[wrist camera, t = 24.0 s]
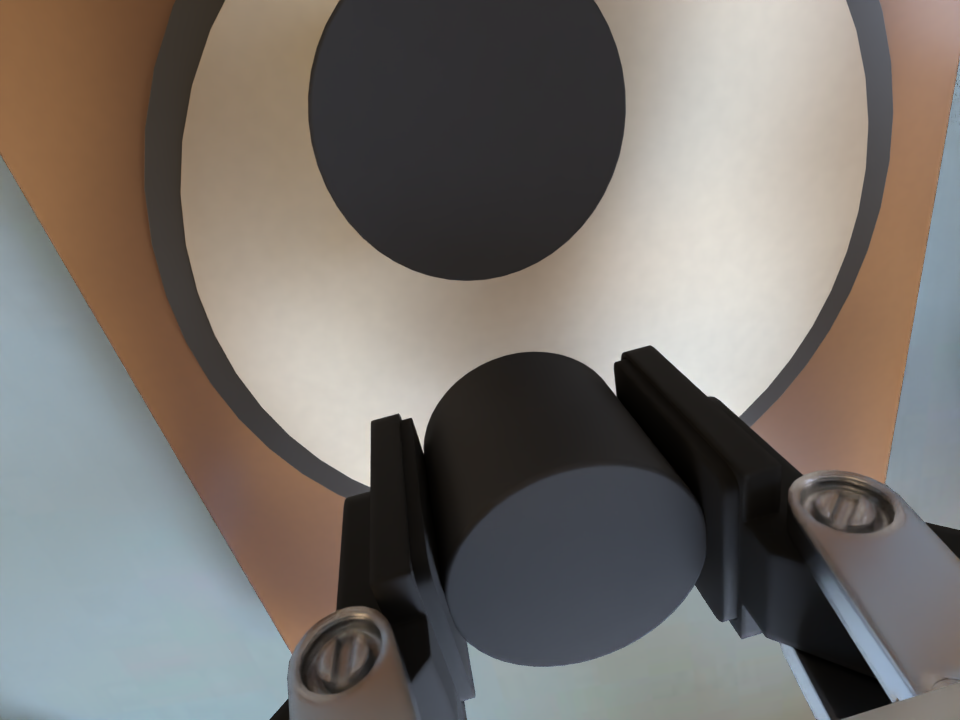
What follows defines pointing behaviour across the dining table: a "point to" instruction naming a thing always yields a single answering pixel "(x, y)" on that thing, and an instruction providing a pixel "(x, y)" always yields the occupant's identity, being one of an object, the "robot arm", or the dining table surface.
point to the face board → (480, 303)
